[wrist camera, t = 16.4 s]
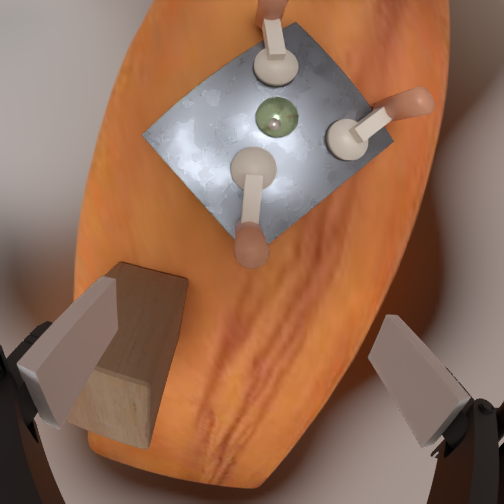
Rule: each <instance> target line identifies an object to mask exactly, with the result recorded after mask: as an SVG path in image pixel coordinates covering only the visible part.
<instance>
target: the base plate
mask: <svg viewBox="0 0 504 504" xmlns="http://www.w3.org/2000/svg"><path fill="white" fill-rule="evenodd" d="M282 32H283V38H284V43H285V49H287V50H288V51H290V52H291V53H292V54H293V55H294V56H295V57H296V59H297V61H298V72H297V74H296V76H295V77H294V79H293V80H292V81H291V82H289V83H288V84H286V85H283V86H270V85H267V84H265V83H263V82H262V81H261V80H259V79H258V77H257V76H256V74H255V72H254V61H255V58H256V56H257V54H258V53H259V52H260V51H261V50H263V49H265V45H264V40H263V41H261V42H260V43H258V44H256V45H255V46H253V47H252V48H250V49H248V50H247V51H245V52H244V53H242V54H241V55H239V56H238V57H236V58H235V59H233V60H232V61H230V62H229V63H228V64H226V65H225V66H223V67H222V68H221V69H219V70H218V71H216V72H215V73H214V74H212V75H211V76H210V77H208V78H207V79H206V80H204V81H203V82H202V83H201V84H199V85H198V86H197V87H196V88H194V89H193V90H192V91H191V92H189V93H188V94H187V95H186V96H184V97H183V98H182V99H181V100H180V101H179V102H177V103H176V104H175V105H174V106H173V107H172V108H170V109H169V110H168V111H167V112H166V113H165V114H164V115H163V116H161V117H160V118H159V119H158V120H157V121H156V122H155V123H154V124H153V125H152V126H151V127H150V128H149V129H148V130H147V131H146V132H144V133H143V134H142V136H143V137H144V138H145V139H146V140H147V142H148V143H149V144H150V145H151V146H152V147H153V148H154V150H155V151H156V152H157V153H158V154H159V155H160V156H161V157H162V159H163V160H164V161H165V162H166V163H167V164H168V165H169V167H170V168H171V169H172V170H173V171H174V172H175V173H176V174H177V176H178V177H179V178H180V179H181V180H182V181H183V182H184V183H185V185H186V186H187V187H188V188H189V189H190V190H191V191H192V192H193V194H194V195H195V196H196V197H197V198H198V199H199V200H200V201H201V203H202V204H203V205H204V206H205V207H206V208H207V209H208V210H209V212H210V213H211V214H212V215H213V216H214V217H215V218H216V219H217V221H218V222H219V223H220V224H221V225H222V226H223V227H224V228H225V230H226V231H227V232H228V233H229V234H230V235H231V236H232V237H233V238H234V240H235V225H236V223H237V222H238V220H240V219H241V213H242V202H243V190H244V189H242V188H240V187H239V186H238V185H237V184H236V183H235V181H234V180H233V177H232V174H231V164H232V161H233V159H234V157H235V156H236V154H237V153H238V152H240V151H241V150H243V149H245V148H248V147H260V148H263V149H265V150H267V151H268V152H269V153H270V154H271V155H272V156H273V157H274V159H275V162H276V165H277V173H276V177H275V179H274V181H273V182H272V184H271V185H270V186H269V187H267V188H266V189H264V190H262V194H261V205H260V215H259V224H260V226H261V229H262V231H263V234H264V236H265V239H266V241H267V243H268V244H269V243H270V242H272V241H273V240H274V239H275V238H277V237H278V236H279V235H280V234H281V233H283V232H284V231H285V230H286V229H288V228H289V227H290V226H291V225H293V224H294V223H295V222H296V221H297V220H299V219H300V218H301V217H302V216H304V215H305V214H306V213H307V212H308V211H310V210H311V209H312V208H313V207H315V206H316V205H317V204H318V203H319V202H321V201H322V200H323V199H324V198H326V197H327V196H328V195H329V194H330V193H332V192H333V191H334V190H335V189H337V188H338V187H339V186H340V185H341V184H343V183H344V182H345V181H346V180H348V179H349V178H350V177H351V176H352V175H354V174H355V173H356V172H357V171H359V170H360V169H361V168H362V167H363V166H365V165H366V164H367V163H368V162H369V161H371V160H372V159H373V158H374V157H376V156H377V155H378V154H379V153H380V152H382V151H383V150H384V149H385V148H386V147H388V146H389V145H390V144H391V143H393V142H394V141H393V139H392V138H391V136H390V135H389V133H388V131H387V130H386V128H385V127H382V128H381V129H380V130H378V131H377V132H376V133H375V134H373V135H372V136H371V137H370V138H368V147H367V150H366V152H365V154H364V155H363V156H362V157H360V158H359V159H356V160H341V159H339V158H337V157H336V156H334V155H333V154H332V153H331V151H330V150H329V148H328V146H327V142H326V135H327V131H328V129H329V127H330V126H331V125H332V124H333V123H335V122H337V121H339V120H342V119H352V120H354V121H356V122H359V121H360V120H361V119H363V118H364V117H365V116H367V115H368V114H369V113H371V112H372V111H373V110H372V108H371V107H370V105H369V104H368V103H367V101H366V100H365V99H364V97H363V96H362V95H361V93H360V92H359V91H358V89H357V88H356V87H355V86H354V84H353V83H352V82H351V81H350V79H349V78H348V77H347V76H346V75H345V73H344V72H343V71H342V70H341V69H340V67H339V66H338V65H337V64H336V63H335V62H334V61H333V59H332V58H331V57H330V56H329V55H328V54H327V53H326V52H325V51H324V50H323V49H322V47H321V46H320V45H319V44H318V43H317V42H316V41H315V40H314V39H313V38H312V37H311V36H310V35H309V34H308V33H307V32H306V31H305V30H304V29H303V28H302V27H301V26H300V25H299V24H297V23H296V22H295V23H293V24H291V25H289V26H287V27H285V28H284V29H282Z"/></svg>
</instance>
